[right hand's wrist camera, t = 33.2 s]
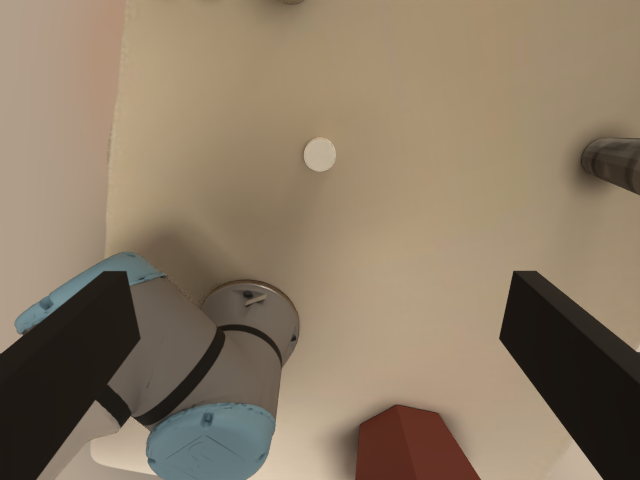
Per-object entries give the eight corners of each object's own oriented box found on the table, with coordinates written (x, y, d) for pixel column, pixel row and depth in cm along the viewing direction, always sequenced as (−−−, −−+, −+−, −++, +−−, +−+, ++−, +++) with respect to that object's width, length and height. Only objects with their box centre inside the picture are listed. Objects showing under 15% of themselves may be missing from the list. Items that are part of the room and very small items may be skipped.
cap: (297, 152, 47) (296, 155, 45) (319, 130, 46) (320, 131, 44) (319, 174, 48) (319, 178, 46) (341, 153, 47) (342, 155, 45)
